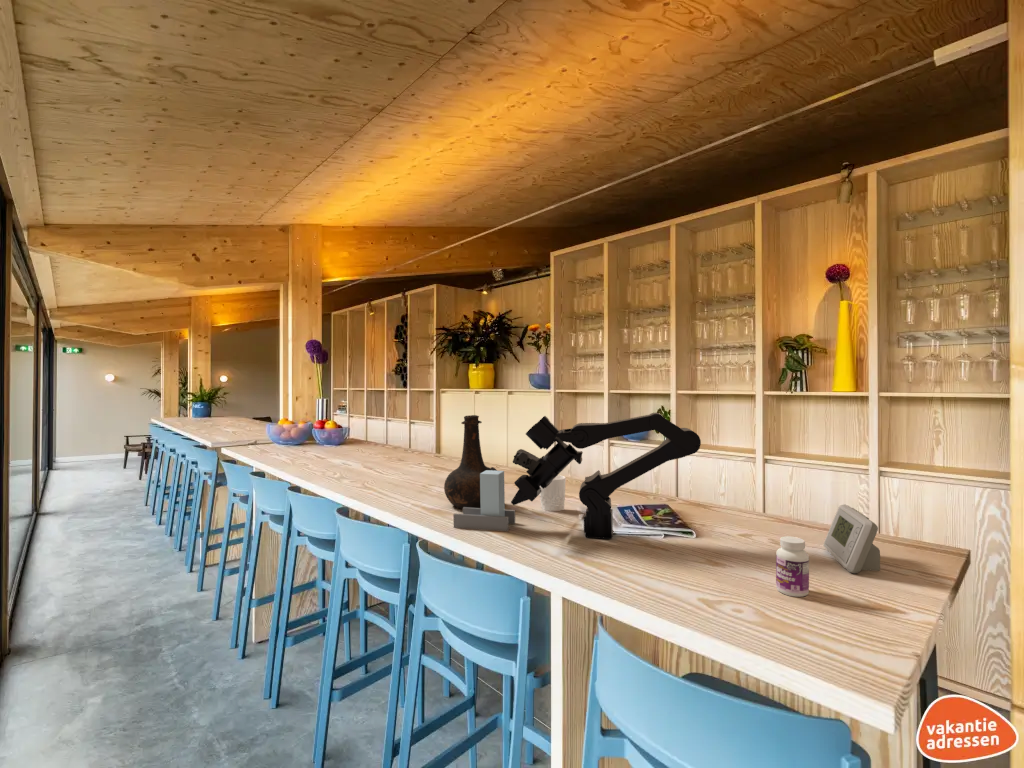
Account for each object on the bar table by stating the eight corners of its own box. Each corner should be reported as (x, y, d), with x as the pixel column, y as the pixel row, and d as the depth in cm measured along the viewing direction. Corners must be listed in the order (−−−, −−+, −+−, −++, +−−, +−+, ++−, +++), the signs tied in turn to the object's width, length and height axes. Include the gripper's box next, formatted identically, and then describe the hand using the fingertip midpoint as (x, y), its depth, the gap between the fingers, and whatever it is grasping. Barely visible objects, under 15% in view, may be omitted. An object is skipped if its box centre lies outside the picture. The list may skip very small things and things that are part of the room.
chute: (515, 526, 142) (515, 510, 142) (507, 534, 135) (507, 517, 135) (464, 522, 146) (464, 507, 146) (453, 530, 139) (453, 514, 139)
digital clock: (822, 548, 121) (822, 501, 121) (870, 553, 118) (870, 505, 117) (830, 572, 107) (830, 519, 107) (884, 579, 103) (884, 524, 103)
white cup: (566, 507, 160) (565, 474, 160) (566, 515, 153) (565, 480, 152) (539, 507, 161) (539, 474, 161) (538, 514, 153) (537, 479, 153)
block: (505, 523, 142) (504, 470, 141) (499, 529, 137) (498, 474, 136) (487, 522, 143) (486, 470, 143) (480, 527, 138) (479, 473, 138)
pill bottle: (771, 591, 98) (771, 539, 98) (781, 583, 102) (781, 533, 102) (803, 600, 94) (803, 546, 94) (813, 591, 98) (813, 539, 98)
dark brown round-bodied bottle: (502, 515, 153) (500, 417, 153) (440, 515, 154) (438, 418, 153) (504, 500, 171) (503, 412, 171) (449, 500, 172) (447, 413, 171)
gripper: (540, 435, 145) (501, 473, 149) (522, 444, 127) (479, 488, 131) (569, 465, 143) (529, 503, 147) (555, 478, 125) (510, 522, 129)
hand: (512, 503), depth 138 cm, fingers closed
